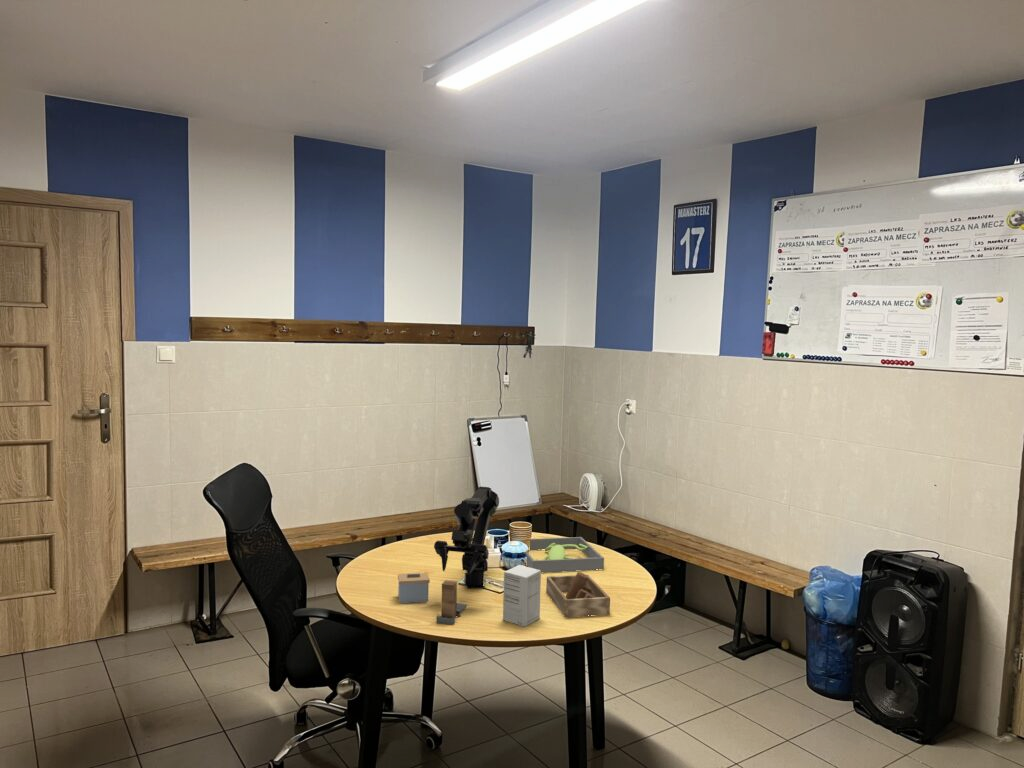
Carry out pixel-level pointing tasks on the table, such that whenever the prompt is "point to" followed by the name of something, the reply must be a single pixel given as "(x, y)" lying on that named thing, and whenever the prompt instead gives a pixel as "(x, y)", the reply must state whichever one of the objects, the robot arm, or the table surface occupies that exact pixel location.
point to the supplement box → (521, 595)
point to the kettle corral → (561, 565)
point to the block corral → (577, 606)
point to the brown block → (449, 598)
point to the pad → (461, 606)
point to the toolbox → (413, 587)
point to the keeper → (448, 618)
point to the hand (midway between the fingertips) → (456, 572)
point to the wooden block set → (579, 588)
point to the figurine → (560, 551)
